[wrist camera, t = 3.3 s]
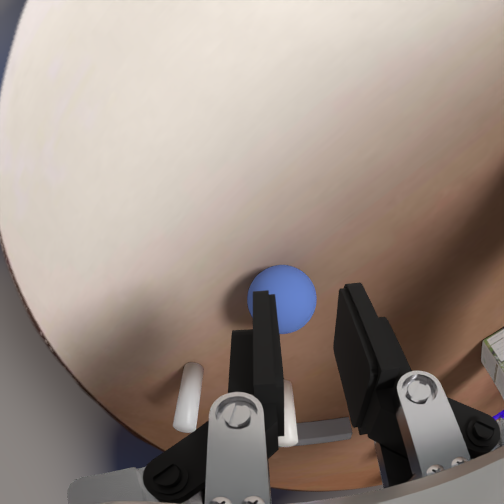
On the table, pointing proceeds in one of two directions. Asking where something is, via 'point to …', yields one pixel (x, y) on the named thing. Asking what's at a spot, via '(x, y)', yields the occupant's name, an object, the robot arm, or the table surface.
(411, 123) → the table surface
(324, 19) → the table surface
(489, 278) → the table surface
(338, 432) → the stopper wall
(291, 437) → the white pin
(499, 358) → the syrup box
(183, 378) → the grey pin
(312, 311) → the ball
